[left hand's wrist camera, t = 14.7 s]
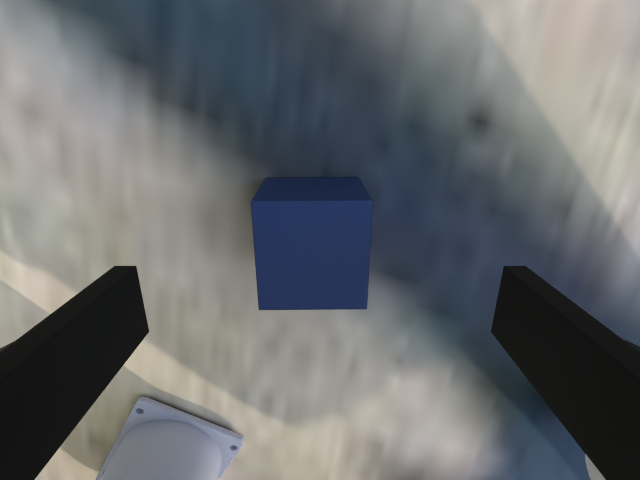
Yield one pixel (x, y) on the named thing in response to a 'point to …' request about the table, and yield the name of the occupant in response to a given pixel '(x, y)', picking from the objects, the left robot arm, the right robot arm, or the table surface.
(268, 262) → the block
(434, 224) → the table surface
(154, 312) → the table surface
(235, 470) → the table surface
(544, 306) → the left robot arm
